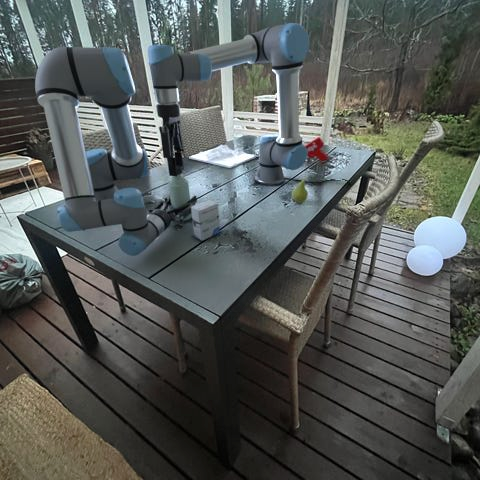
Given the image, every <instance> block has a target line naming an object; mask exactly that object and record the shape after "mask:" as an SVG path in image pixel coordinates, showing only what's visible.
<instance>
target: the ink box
mask: <svg viewBox="0 0 480 480" xmlns="http://www.w3.org/2000/svg"><path fill="white" fill-rule="evenodd" d="M191 211H192V218H191V220H192V227H193V235H194V237H195V238H197V239H199V240H200V241H206V240H208V239H209V238H211V237H214V236H215V235H217V234H219V233H220V232H221V225H220V212H219V203H218V202H216V201H213V200H212V199H208V200H206V201H203V202H200V203H198V204H195V206H192V207H191Z"/></svg>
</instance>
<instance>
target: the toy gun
mask: <svg viewBox="0 0 480 480" xmlns="http://www.w3.org/2000/svg"><path fill="white" fill-rule="evenodd" d="M324 145H325V143H324V141H323V140H322V138H321V137H320V136H317V137H316V138H314V139H313V140H311V141H310V142H308V143H306V144H305V145H304V146H305V147H306V148H307V151H308V155H307V158H309V160H310V159H314V158H317V159H318V160H319V161H321V162H320V163H321V164H324V162H322V161H325V160H326V162H328V158H329V155H328V154H327V153H325V152H324V151H323V150H322V148H323V147H324Z"/></svg>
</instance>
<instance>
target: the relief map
mask: <svg viewBox="0 0 480 480" xmlns="http://www.w3.org/2000/svg"><path fill="white" fill-rule="evenodd" d="M256 158H257V155H256V154H252V153H251V154H250V153H247V152H245V151H244V150H243V149H242V148H241V147H239V148H237V149H232V148H230V147H229V146H228V145H227V144H222V143H221V144H220V145H218V146H216V147H214V148H212V149H208V150H205V151H199V152H198V153H197V154H192V155H190V156H188V159H190V160H194V161H199V162H202V163H207V164H211V165H215V166H219V167H223V168H228V169H233V168H235V167H237V166H239V165H242V164H245V163H247V162H249V161H252V160H254V159H256Z"/></svg>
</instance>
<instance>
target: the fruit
mask: <svg viewBox="0 0 480 480" xmlns="http://www.w3.org/2000/svg"><path fill="white" fill-rule="evenodd" d="M310 177H311V175H310V174H309V175H308V176H307V177H305V179H301V180H302V181H301V182H298V184H297V185H296V186H295V187H294V188H293V190H292V191H291V198H292V200H293V201H294V202H295V203H297V204H301V203H304V202H305V201H306V200H307V198H308V196H309V195H308V190H307V189H306V184H305V181H307V180H308V179H309V178H310Z"/></svg>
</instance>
